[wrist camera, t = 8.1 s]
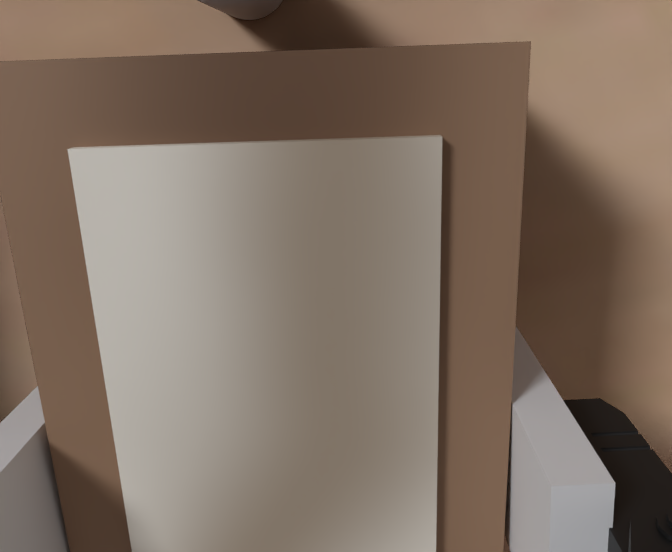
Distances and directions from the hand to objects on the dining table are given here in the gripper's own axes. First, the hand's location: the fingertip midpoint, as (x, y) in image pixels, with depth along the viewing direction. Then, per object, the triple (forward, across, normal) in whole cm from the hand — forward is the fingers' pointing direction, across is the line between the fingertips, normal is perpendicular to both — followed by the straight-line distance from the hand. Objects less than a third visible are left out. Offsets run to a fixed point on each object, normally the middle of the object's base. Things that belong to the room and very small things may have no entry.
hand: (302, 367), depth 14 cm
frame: (0, 0, 0) cm, 1 cm away
